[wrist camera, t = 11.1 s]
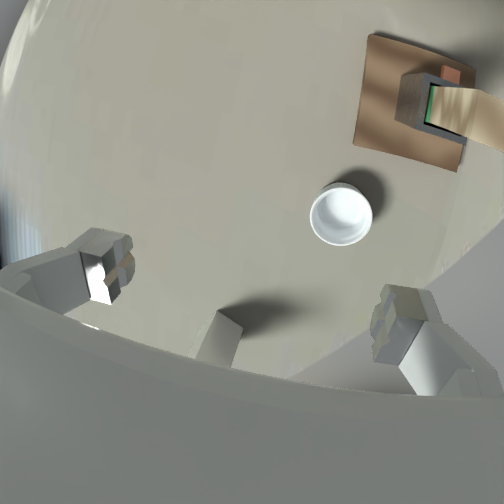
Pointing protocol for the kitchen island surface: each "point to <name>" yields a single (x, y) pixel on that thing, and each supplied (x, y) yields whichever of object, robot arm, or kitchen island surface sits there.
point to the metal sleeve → (424, 101)
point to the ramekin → (341, 214)
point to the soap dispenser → (217, 341)
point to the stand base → (385, 101)
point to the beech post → (467, 114)
